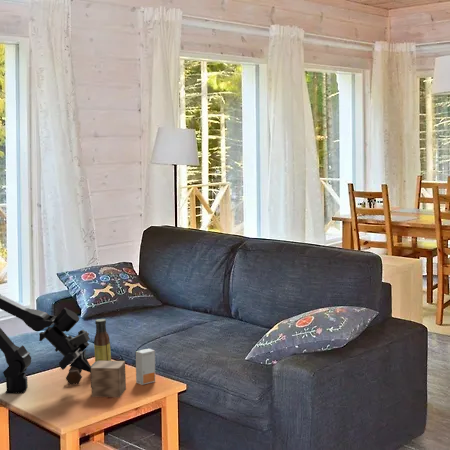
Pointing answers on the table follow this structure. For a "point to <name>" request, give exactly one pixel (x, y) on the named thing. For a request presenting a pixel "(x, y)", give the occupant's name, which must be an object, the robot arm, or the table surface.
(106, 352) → the sauce bottle
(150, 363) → the skincare box
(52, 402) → the table surface
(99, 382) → the housing
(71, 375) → the bolt
